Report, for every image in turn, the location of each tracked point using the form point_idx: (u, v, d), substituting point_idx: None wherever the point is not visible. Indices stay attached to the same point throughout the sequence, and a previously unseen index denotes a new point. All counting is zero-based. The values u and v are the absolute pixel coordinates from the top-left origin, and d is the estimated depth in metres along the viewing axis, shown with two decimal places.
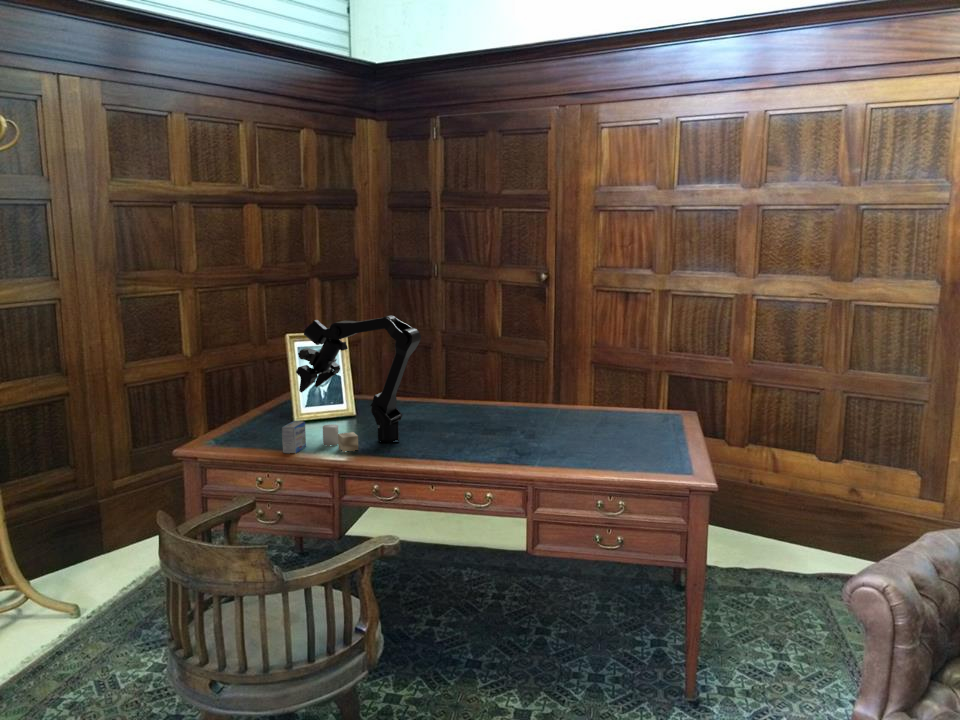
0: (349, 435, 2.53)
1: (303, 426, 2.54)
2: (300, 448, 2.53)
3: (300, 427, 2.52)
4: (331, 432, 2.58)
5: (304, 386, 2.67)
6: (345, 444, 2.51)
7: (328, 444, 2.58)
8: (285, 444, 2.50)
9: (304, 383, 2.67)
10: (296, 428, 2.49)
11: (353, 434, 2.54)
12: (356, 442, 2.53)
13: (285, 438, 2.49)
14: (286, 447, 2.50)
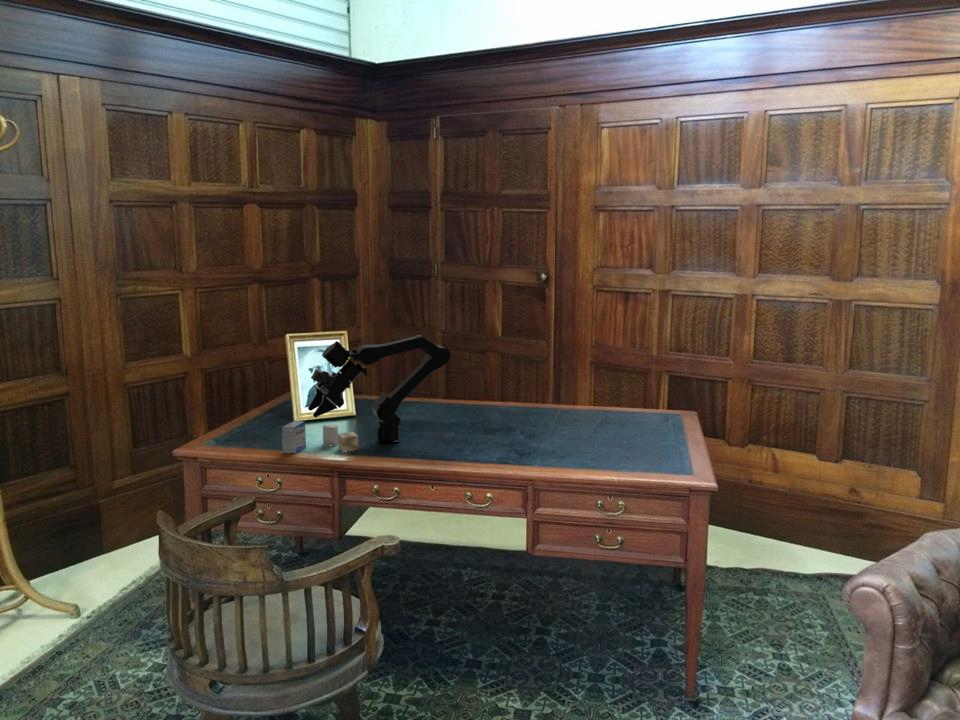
0: (349, 435, 2.53)
1: (303, 426, 2.54)
2: (300, 448, 2.53)
3: (300, 427, 2.52)
4: (331, 432, 2.58)
5: (324, 411, 2.49)
6: (345, 444, 2.51)
7: (328, 444, 2.58)
8: (285, 444, 2.50)
9: (324, 408, 2.49)
10: (296, 428, 2.49)
11: (353, 434, 2.54)
12: (356, 442, 2.53)
13: (285, 438, 2.49)
14: (286, 447, 2.50)
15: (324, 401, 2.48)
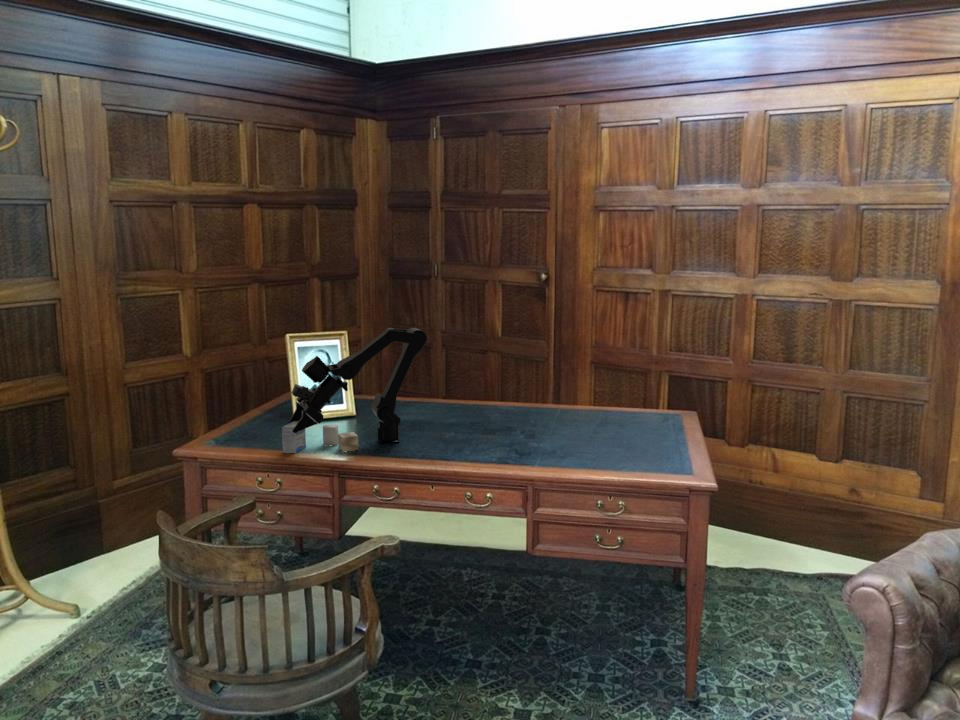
0: (349, 435, 2.53)
1: None
2: (300, 448, 2.53)
3: None
4: (331, 432, 2.58)
5: (303, 426, 2.48)
6: (345, 444, 2.51)
7: (328, 444, 2.58)
8: (285, 444, 2.50)
9: (304, 423, 2.47)
10: None
11: (353, 434, 2.54)
12: (356, 442, 2.53)
13: (285, 438, 2.49)
14: (286, 447, 2.50)
15: (303, 417, 2.46)
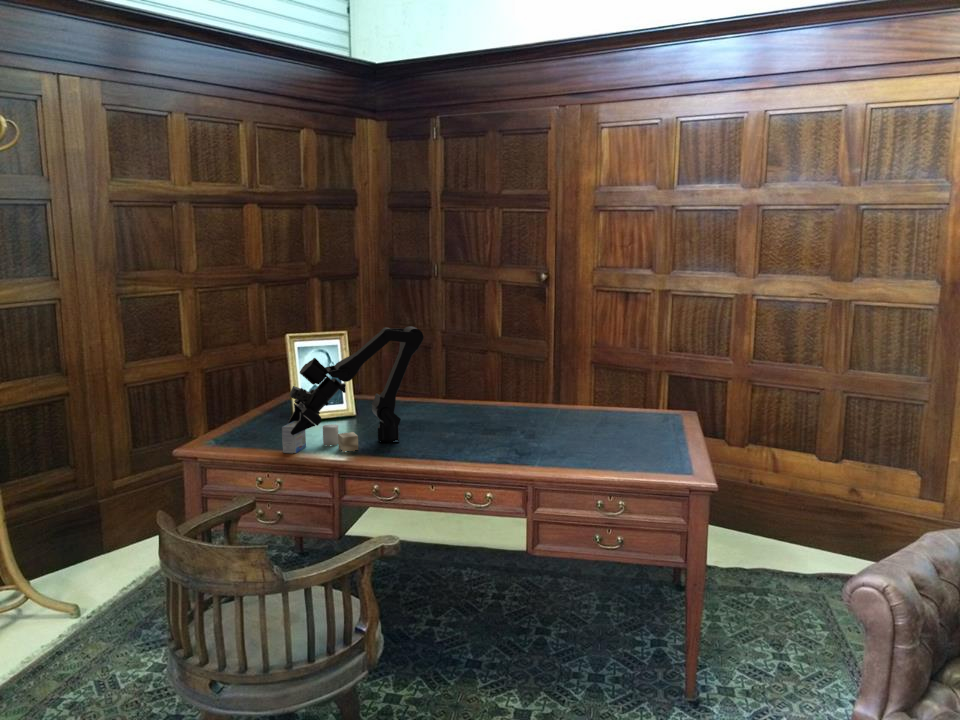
0: (349, 435, 2.53)
1: None
2: (300, 448, 2.53)
3: None
4: (331, 432, 2.58)
5: (301, 428, 2.48)
6: (345, 444, 2.51)
7: (328, 444, 2.58)
8: (285, 444, 2.50)
9: (302, 425, 2.47)
10: None
11: (353, 434, 2.54)
12: (356, 442, 2.53)
13: (285, 438, 2.49)
14: (286, 446, 2.50)
15: (301, 419, 2.46)
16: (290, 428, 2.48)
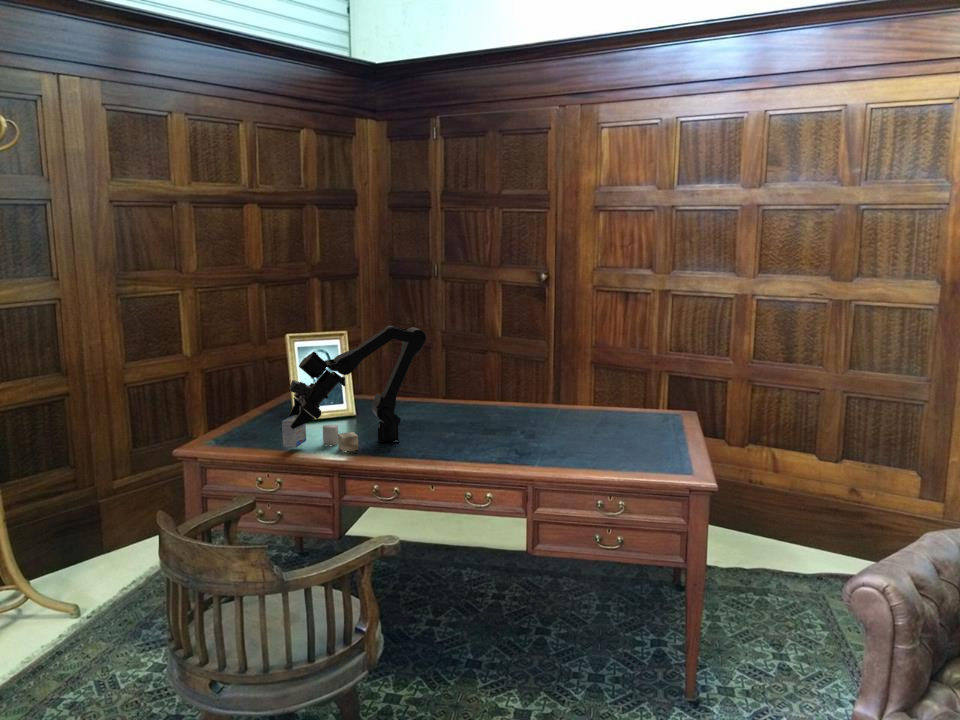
0: (349, 435, 2.53)
1: None
2: (300, 442, 2.52)
3: None
4: (331, 432, 2.58)
5: (301, 422, 2.47)
6: (345, 444, 2.51)
7: (328, 444, 2.58)
8: (285, 438, 2.49)
9: (302, 419, 2.47)
10: None
11: (353, 434, 2.54)
12: (356, 442, 2.53)
13: (285, 432, 2.49)
14: (286, 441, 2.49)
15: (301, 412, 2.46)
16: (290, 422, 2.48)
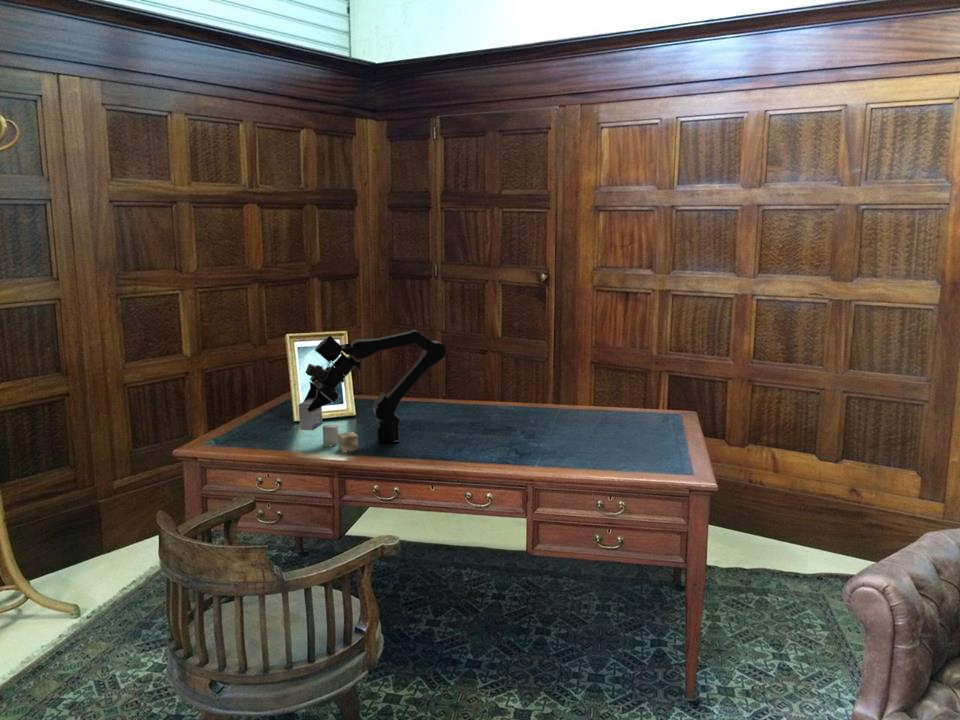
0: (349, 435, 2.53)
1: None
2: (317, 425, 2.55)
3: None
4: (331, 432, 2.58)
5: (318, 405, 2.50)
6: (345, 444, 2.51)
7: (328, 444, 2.58)
8: (302, 421, 2.52)
9: (318, 402, 2.50)
10: None
11: (353, 434, 2.54)
12: (356, 442, 2.53)
13: (302, 415, 2.51)
14: (303, 423, 2.52)
15: (318, 395, 2.48)
16: (307, 405, 2.50)
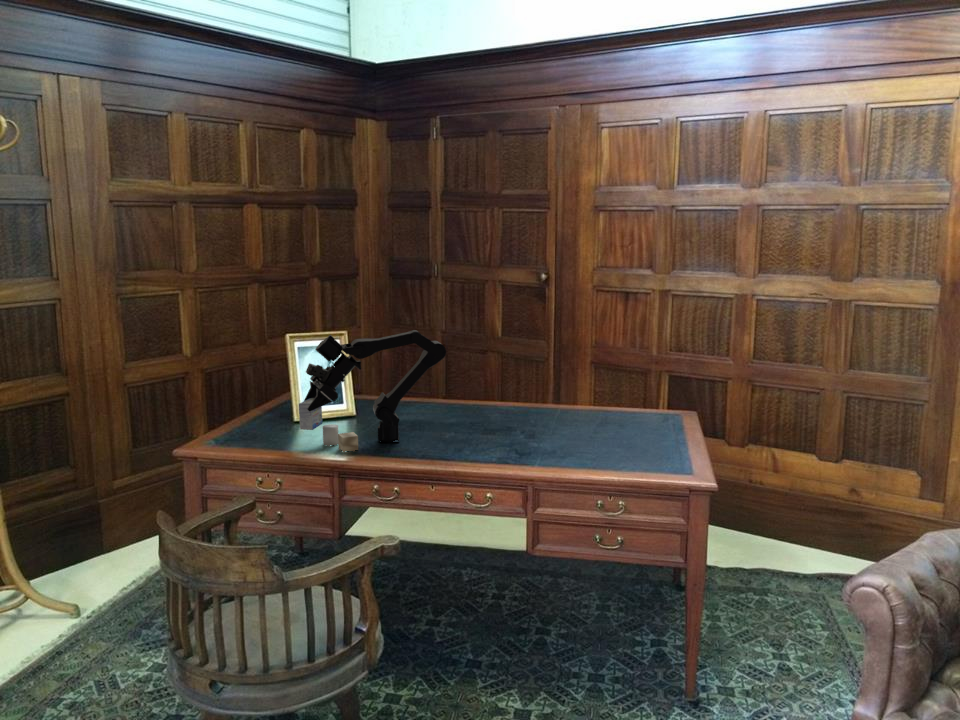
0: (349, 435, 2.53)
1: None
2: (317, 424, 2.55)
3: None
4: (331, 432, 2.58)
5: (318, 405, 2.50)
6: (345, 444, 2.51)
7: (328, 444, 2.58)
8: (302, 421, 2.52)
9: (318, 402, 2.50)
10: None
11: (353, 434, 2.54)
12: (356, 442, 2.53)
13: (302, 414, 2.51)
14: (303, 423, 2.52)
15: (318, 395, 2.49)
16: (307, 405, 2.51)
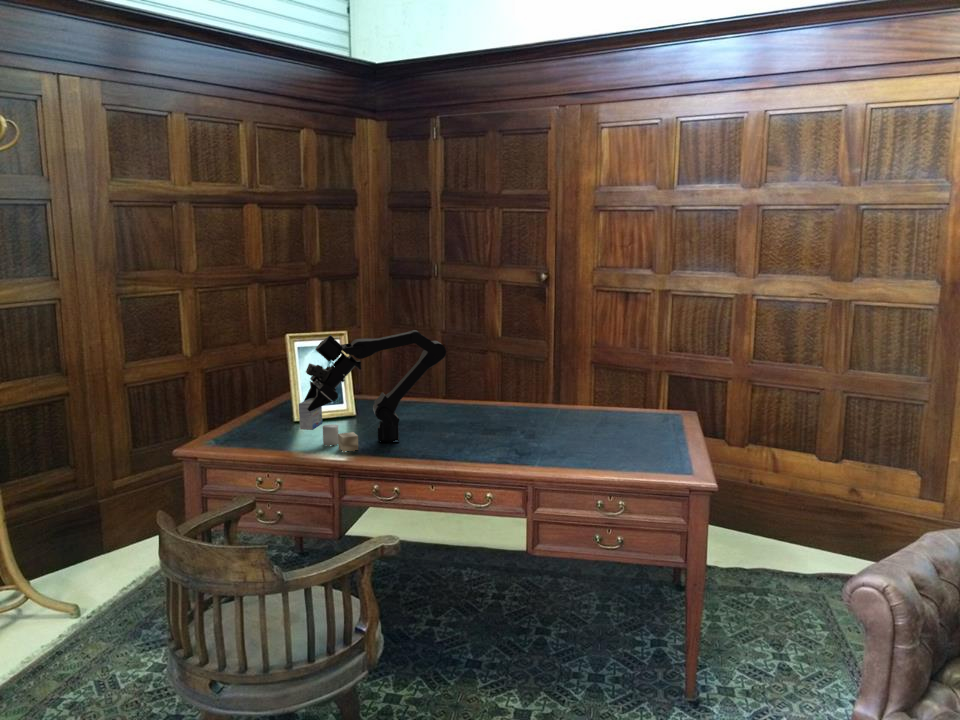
0: (349, 435, 2.53)
1: None
2: (317, 424, 2.55)
3: None
4: (331, 432, 2.58)
5: (318, 405, 2.50)
6: (345, 444, 2.51)
7: (328, 444, 2.58)
8: (302, 421, 2.52)
9: (318, 402, 2.50)
10: None
11: (353, 434, 2.54)
12: (356, 442, 2.53)
13: (302, 414, 2.51)
14: (303, 423, 2.52)
15: (318, 395, 2.49)
16: (307, 405, 2.51)
